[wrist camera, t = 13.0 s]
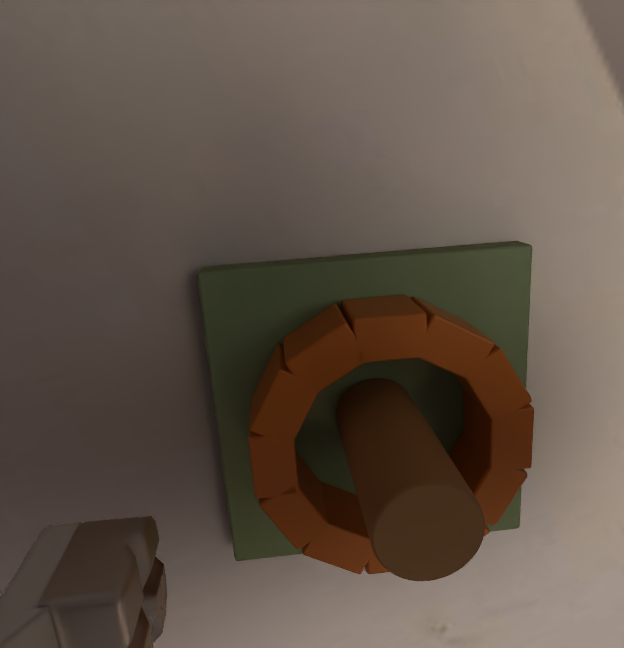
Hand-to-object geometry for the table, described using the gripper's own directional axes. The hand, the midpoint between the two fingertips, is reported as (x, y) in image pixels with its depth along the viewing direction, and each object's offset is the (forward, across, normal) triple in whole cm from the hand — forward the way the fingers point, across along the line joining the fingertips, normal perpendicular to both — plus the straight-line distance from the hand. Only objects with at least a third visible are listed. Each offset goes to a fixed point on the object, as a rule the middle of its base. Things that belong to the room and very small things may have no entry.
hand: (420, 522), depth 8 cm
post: (+6, 0, +1) cm, 6 cm away
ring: (+5, 0, +1) cm, 5 cm away
